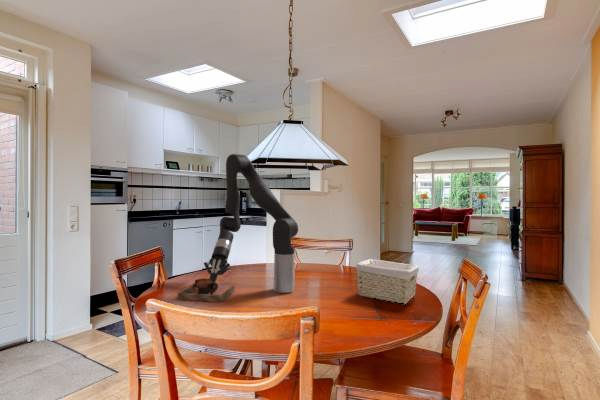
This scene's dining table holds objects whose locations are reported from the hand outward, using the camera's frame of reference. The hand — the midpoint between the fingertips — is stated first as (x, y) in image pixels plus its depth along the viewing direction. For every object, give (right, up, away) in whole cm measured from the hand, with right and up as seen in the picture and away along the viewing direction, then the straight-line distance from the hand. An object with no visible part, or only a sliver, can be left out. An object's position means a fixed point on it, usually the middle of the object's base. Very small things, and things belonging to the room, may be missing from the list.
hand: (212, 281), depth 153 cm
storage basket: (+78, -7, -1) cm, 78 cm away
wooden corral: (-1, -4, -5) cm, 7 cm away
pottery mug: (-2, -5, -5) cm, 7 cm away
